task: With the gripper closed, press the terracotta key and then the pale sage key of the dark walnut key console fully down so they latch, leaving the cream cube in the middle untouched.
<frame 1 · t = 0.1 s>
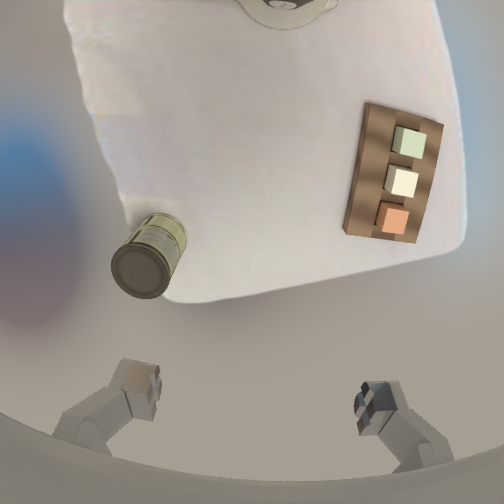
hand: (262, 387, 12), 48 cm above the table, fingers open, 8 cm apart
coffee can: (163, 236, 62), on the table
cream cube: (401, 180, 50), point 5 cm above the table, slide at 0.0 cm
key terracotta: (392, 217, 53), point 5 cm above the table, slide at 0.0 cm
key sage: (409, 142, 47), point 5 cm above the table, slide at 0.0 cm
console: (391, 174, 54), on the table
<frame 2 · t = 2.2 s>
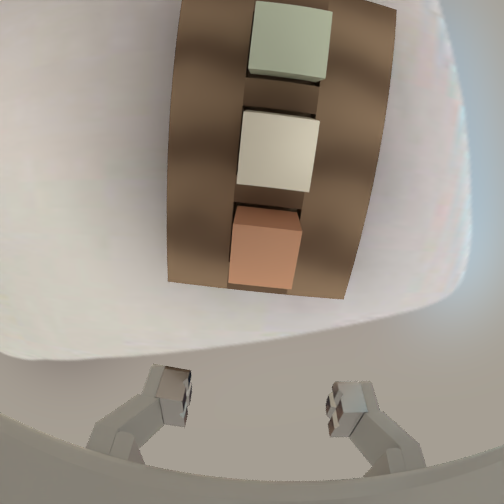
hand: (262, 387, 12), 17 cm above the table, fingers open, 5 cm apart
cream cube: (276, 147, 20), point 5 cm above the table, slide at 0.0 cm
key terracotta: (263, 246, 23), point 5 cm above the table, slide at 0.0 cm
key sage: (288, 43, 16), point 5 cm above the table, slide at 0.0 cm
console: (274, 139, 24), on the table
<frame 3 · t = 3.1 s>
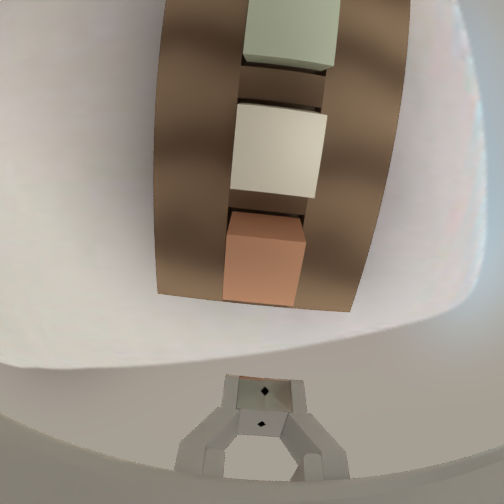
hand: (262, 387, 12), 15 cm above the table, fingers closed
cream cube: (276, 146, 17), point 5 cm above the table, slide at 0.0 cm
key terracotta: (262, 257, 20), point 5 cm above the table, slide at 0.0 cm
key sage: (290, 25, 14), point 5 cm above the table, slide at 0.0 cm
console: (273, 135, 21), on the table
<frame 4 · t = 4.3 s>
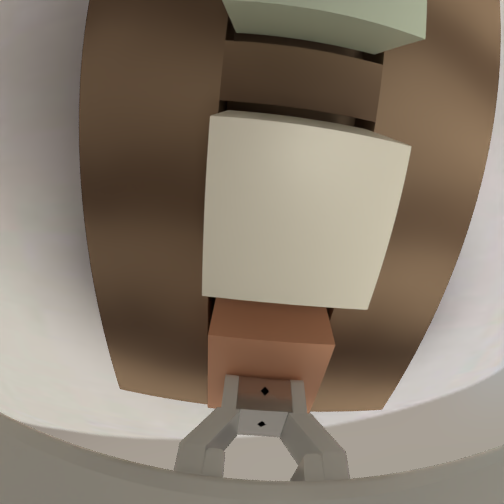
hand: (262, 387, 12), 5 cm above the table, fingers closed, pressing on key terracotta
cream cube: (295, 199, 9), point 5 cm above the table, slide at 0.0 cm
key terracotta: (265, 349, 13), point 3 cm above the table, slide at 1.4 cm, touching gripper
console: (284, 165, 13), on the table
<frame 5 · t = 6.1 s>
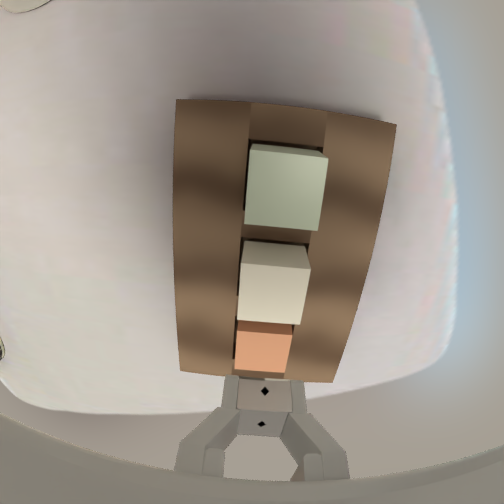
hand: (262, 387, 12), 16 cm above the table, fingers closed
cream cube: (272, 282, 23), point 5 cm above the table, slide at 0.0 cm
key terracotta: (262, 339, 27), point 3 cm above the table, slide at 2.0 cm
key sage: (283, 184, 20), point 5 cm above the table, slide at 0.0 cm
console: (271, 253, 27), on the table
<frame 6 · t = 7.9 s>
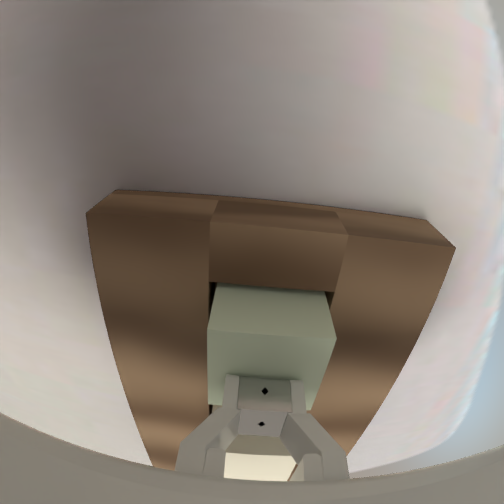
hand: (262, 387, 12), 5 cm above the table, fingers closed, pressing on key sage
cream cube: (251, 443, 15), point 5 cm above the table, slide at 0.0 cm
key sage: (265, 344, 13), point 4 cm above the table, slide at 1.1 cm, touching gripper
console: (253, 382, 20), on the table
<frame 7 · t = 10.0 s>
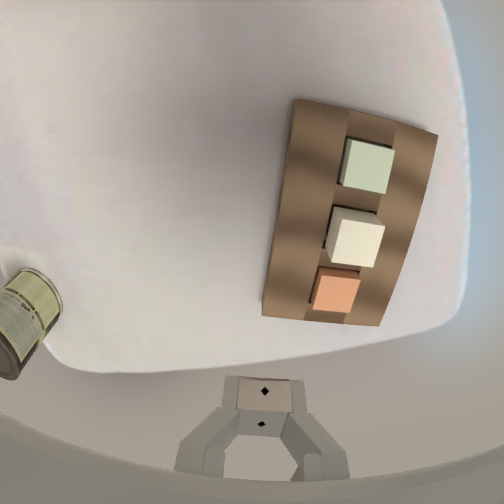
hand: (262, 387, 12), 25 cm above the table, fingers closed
coffee can: (38, 295, 42), on the table
cream cube: (353, 236, 31), point 5 cm above the table, slide at 0.0 cm
key terracotta: (333, 286, 35), point 3 cm above the table, slide at 2.0 cm
key sage: (364, 164, 29), point 3 cm above the table, slide at 2.0 cm
console: (343, 220, 35), on the table
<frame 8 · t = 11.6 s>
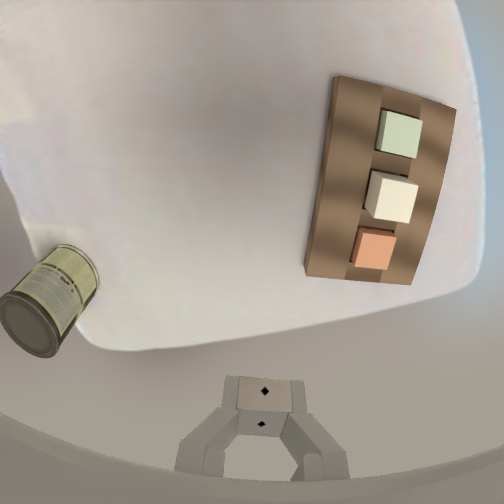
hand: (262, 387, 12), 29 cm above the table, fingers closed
coffee can: (72, 272, 45), on the table
cream cube: (390, 196, 33), point 5 cm above the table, slide at 0.0 cm
key terracotta: (371, 245, 38), point 3 cm above the table, slide at 2.0 cm
key sage: (396, 133, 31), point 3 cm above the table, slide at 2.0 cm
console: (377, 185, 37), on the table
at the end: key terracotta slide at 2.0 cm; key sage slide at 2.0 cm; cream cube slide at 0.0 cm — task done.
